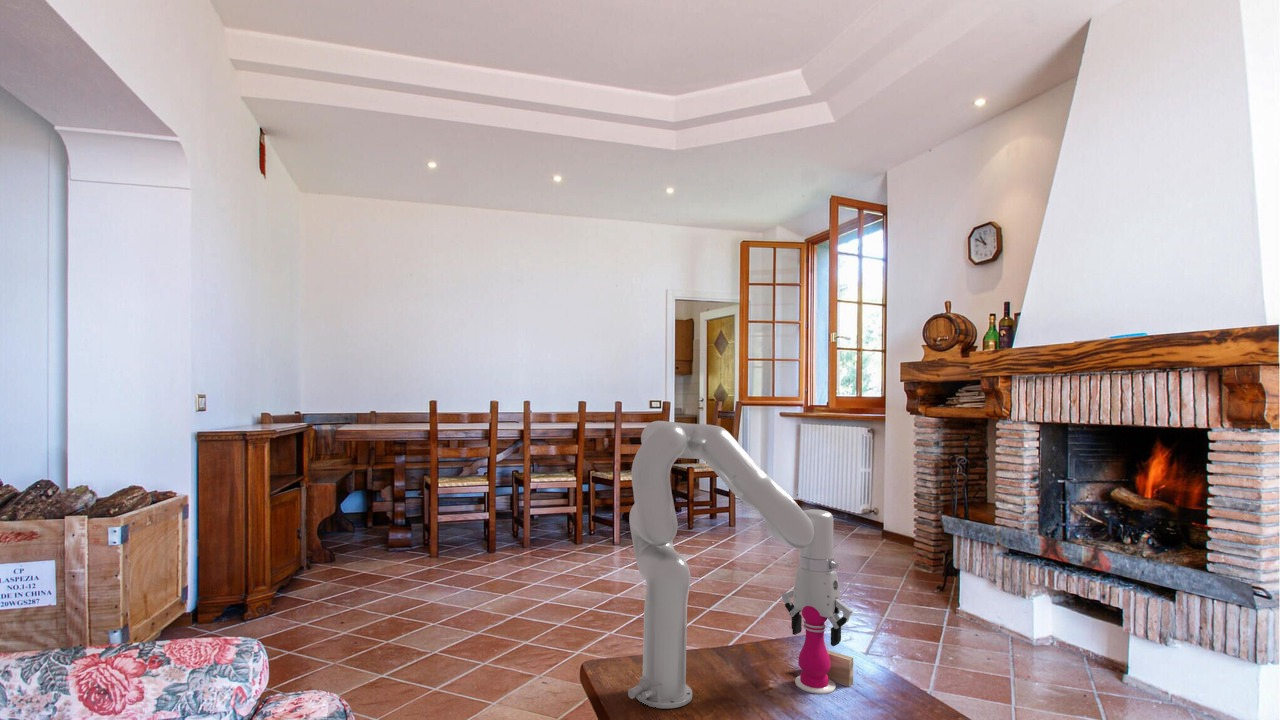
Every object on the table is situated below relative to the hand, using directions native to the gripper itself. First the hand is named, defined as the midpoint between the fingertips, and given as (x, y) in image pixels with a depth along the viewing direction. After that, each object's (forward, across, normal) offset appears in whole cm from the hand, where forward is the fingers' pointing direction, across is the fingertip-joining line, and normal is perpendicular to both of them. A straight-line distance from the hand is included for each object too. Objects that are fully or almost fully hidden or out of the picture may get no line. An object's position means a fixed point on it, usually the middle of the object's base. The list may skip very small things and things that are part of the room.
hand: (815, 638), depth 151 cm
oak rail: (+10, 0, -6) cm, 12 cm away
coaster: (+10, 0, 0) cm, 10 cm away
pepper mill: (+10, 0, 0) cm, 10 cm away
